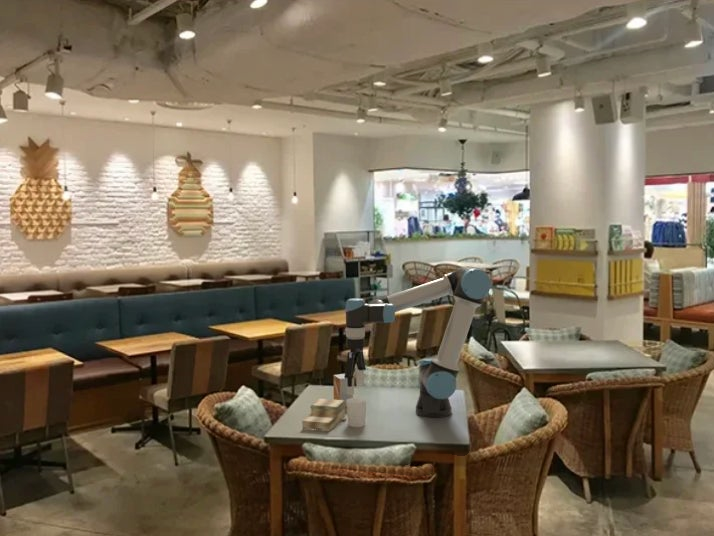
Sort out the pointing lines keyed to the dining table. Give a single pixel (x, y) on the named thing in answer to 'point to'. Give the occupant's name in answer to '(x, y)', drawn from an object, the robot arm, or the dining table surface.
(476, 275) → the robot arm
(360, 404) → the white cup
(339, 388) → the small box
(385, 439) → the dining table surface
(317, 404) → the riser
